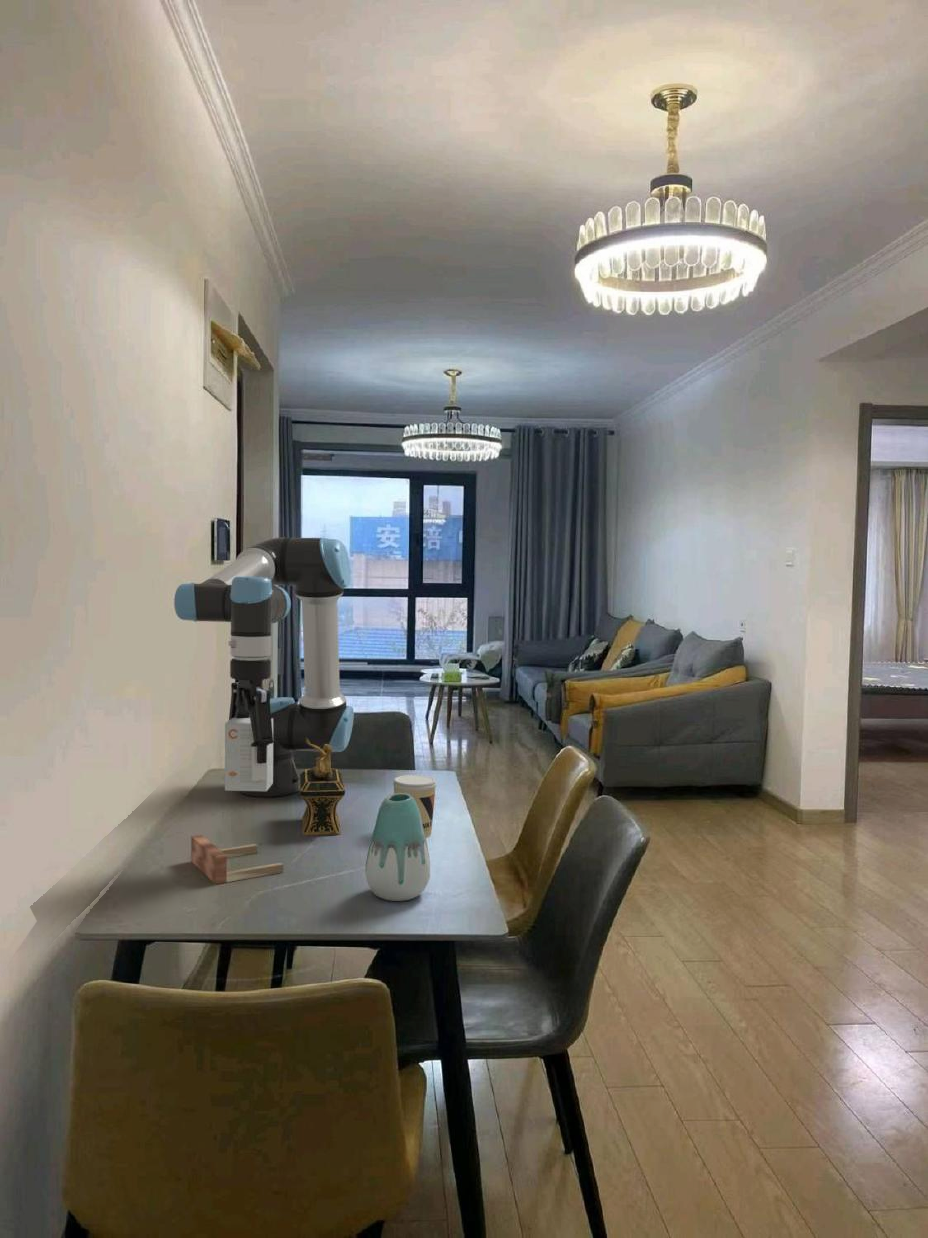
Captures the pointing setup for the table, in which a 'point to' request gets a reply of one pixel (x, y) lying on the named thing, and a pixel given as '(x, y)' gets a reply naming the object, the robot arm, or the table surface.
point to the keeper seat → (216, 861)
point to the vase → (398, 851)
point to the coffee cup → (419, 796)
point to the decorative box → (321, 795)
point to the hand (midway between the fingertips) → (249, 774)
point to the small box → (243, 757)
